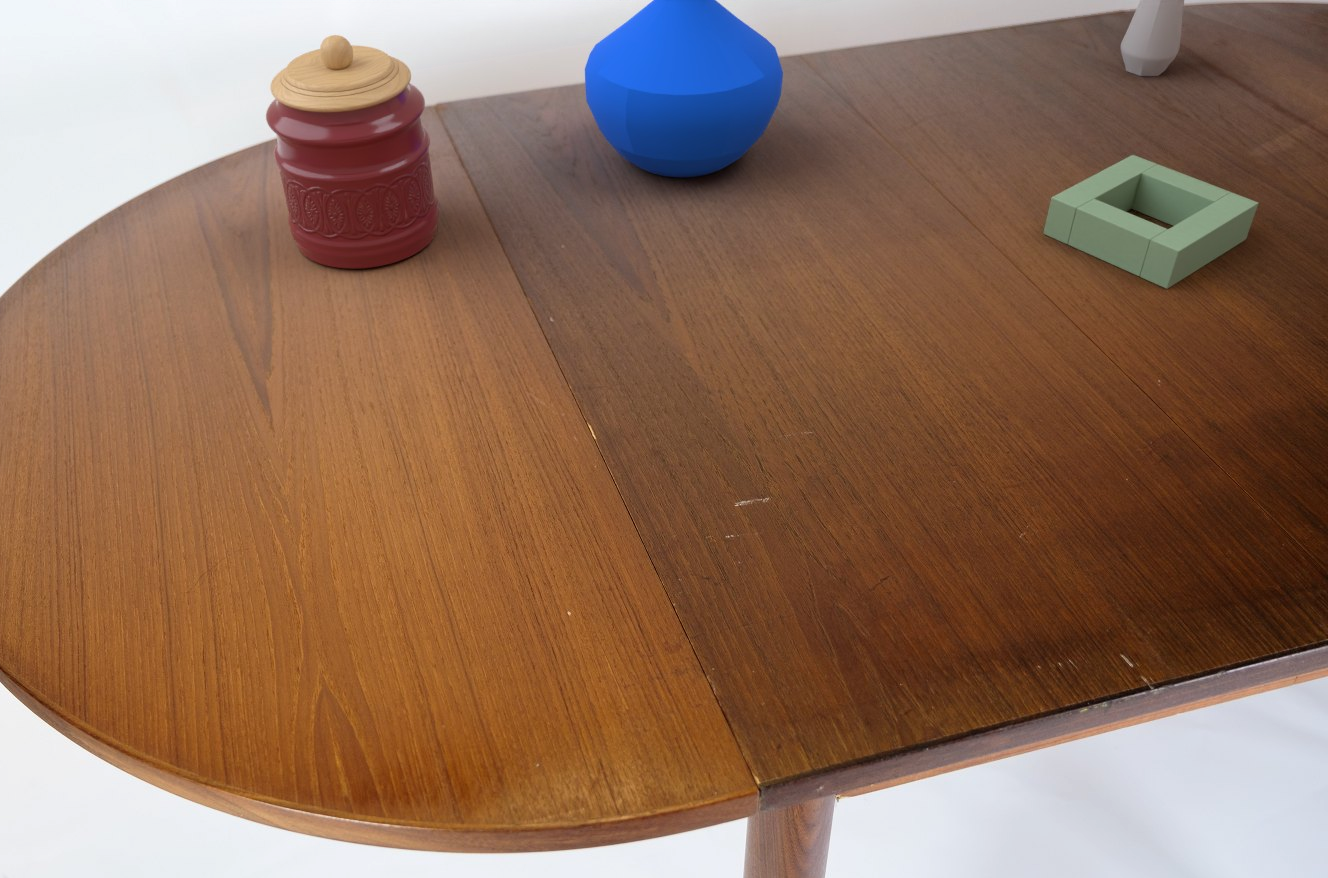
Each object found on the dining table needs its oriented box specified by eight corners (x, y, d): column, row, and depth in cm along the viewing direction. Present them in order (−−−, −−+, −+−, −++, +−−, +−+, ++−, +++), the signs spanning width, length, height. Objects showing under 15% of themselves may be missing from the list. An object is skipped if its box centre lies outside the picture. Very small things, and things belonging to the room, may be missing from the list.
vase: (777, 115, 126) (790, -83, 113) (776, 203, 112) (792, -12, 100) (598, 111, 128) (592, -84, 115) (576, 197, 114) (566, -15, 101)
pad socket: (1246, 239, 105) (1259, 202, 103) (1166, 289, 100) (1178, 251, 98) (1123, 190, 112) (1132, 154, 110) (1042, 233, 107) (1051, 197, 105)
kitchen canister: (430, 190, 116) (405, -1, 104) (451, 259, 106) (426, 57, 95) (289, 210, 113) (248, 17, 102) (297, 282, 104) (252, 78, 92)
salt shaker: (1150, 84, 129) (1185, -44, 121) (1104, 67, 133) (1134, -59, 125) (1184, 70, 132) (1220, -57, 124) (1138, 53, 136) (1170, -71, 127)
